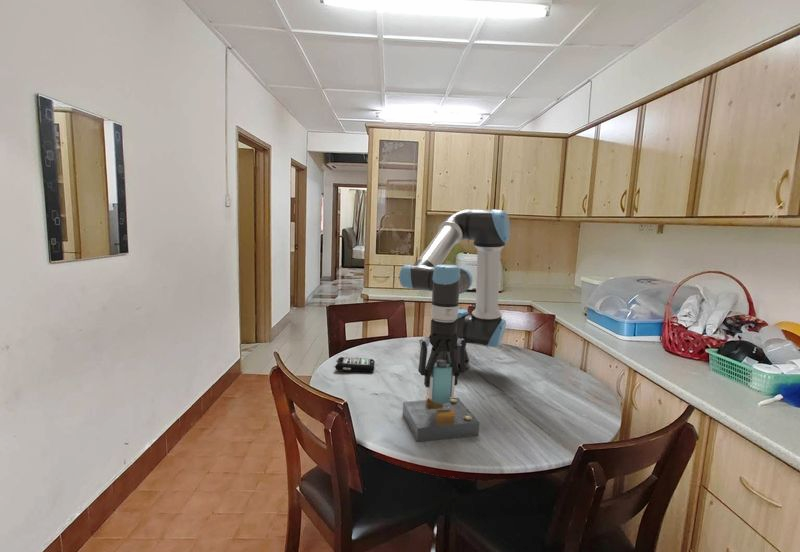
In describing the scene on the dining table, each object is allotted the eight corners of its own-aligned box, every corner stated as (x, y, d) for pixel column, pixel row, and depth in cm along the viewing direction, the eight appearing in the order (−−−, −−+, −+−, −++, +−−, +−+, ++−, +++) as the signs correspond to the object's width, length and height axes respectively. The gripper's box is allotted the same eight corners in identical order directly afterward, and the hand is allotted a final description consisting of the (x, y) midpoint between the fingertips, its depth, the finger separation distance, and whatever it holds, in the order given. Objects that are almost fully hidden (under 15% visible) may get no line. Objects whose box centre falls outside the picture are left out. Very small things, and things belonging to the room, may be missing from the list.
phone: (374, 374, 157) (374, 363, 156) (334, 374, 156) (334, 363, 155) (374, 364, 167) (374, 354, 167) (337, 364, 166) (337, 354, 166)
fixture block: (457, 409, 129) (458, 390, 128) (478, 435, 114) (479, 413, 113) (402, 414, 125) (403, 394, 124) (417, 441, 110) (418, 419, 109)
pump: (446, 394, 122) (448, 357, 120) (453, 402, 116) (455, 364, 115) (427, 395, 120) (428, 358, 119) (433, 404, 115) (435, 365, 113)
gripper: (416, 323, 109) (412, 404, 112) (480, 321, 114) (475, 399, 117) (408, 316, 116) (405, 393, 119) (469, 315, 121) (465, 389, 124)
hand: (440, 396), depth 118 cm, fingers closed on pump, 6 cm apart
